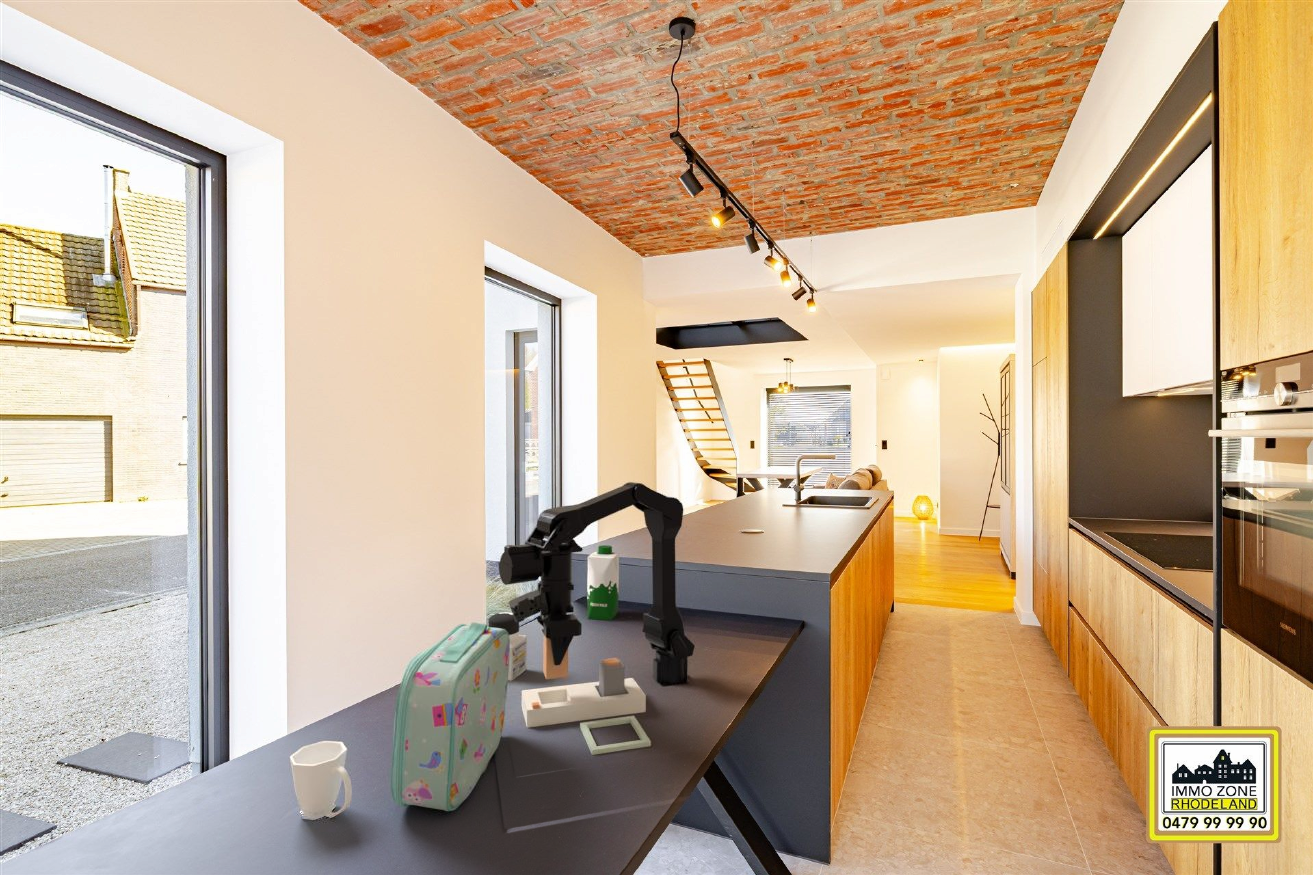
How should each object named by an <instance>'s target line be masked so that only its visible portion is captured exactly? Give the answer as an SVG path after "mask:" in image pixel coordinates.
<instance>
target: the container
mask: <svg viewBox="0 0 1313 875" xmlns="http://www.w3.org/2000/svg"><path fill="white" fill-rule="evenodd" d="M487 627H492V628H500V629H505V630H506V631H507V632H508V634H509V639H510V652H509V670H508V681H513V680H515V679H516V678H517V677H519V676H521V674H522V673H524V672H525V671H526V670H527V661H528V658H527V655H528V654H527V652H528V649H527V648H528V647H527V644H528V636H527V635H525V634H520V622H518V623H517V622H516V621H515V619H514V616H513V613H512V612H507V611H506V612H499V613H498V612H497V613H495V614H493V615H491V616H489V618H488V625H487Z"/></svg>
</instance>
